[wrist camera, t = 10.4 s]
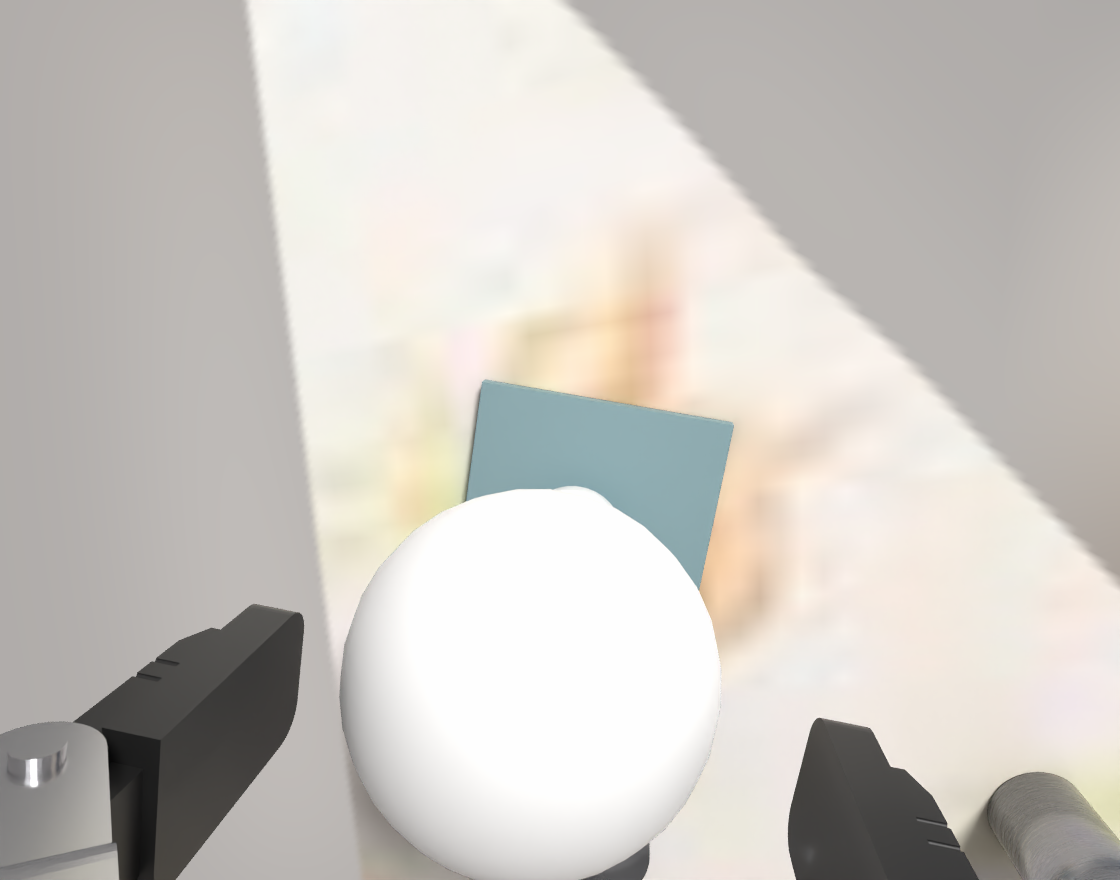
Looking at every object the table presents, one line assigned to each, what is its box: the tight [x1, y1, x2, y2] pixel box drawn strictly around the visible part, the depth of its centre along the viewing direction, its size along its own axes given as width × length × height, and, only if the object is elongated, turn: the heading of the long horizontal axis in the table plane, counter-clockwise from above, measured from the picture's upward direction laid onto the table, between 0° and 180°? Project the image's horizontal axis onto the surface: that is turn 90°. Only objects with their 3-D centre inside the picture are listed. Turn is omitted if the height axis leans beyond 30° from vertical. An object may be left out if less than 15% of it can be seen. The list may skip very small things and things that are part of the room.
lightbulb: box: [340, 486, 721, 880], centre depth 15 cm, size 6×6×11 cm
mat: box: [466, 380, 734, 591], centre depth 21 cm, size 6×6×1 cm
